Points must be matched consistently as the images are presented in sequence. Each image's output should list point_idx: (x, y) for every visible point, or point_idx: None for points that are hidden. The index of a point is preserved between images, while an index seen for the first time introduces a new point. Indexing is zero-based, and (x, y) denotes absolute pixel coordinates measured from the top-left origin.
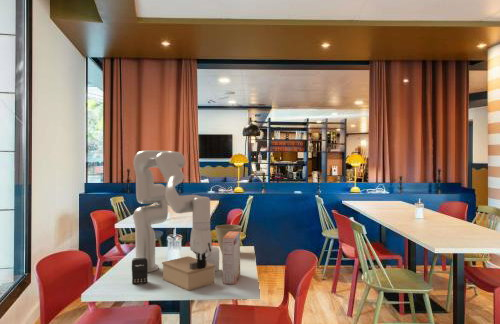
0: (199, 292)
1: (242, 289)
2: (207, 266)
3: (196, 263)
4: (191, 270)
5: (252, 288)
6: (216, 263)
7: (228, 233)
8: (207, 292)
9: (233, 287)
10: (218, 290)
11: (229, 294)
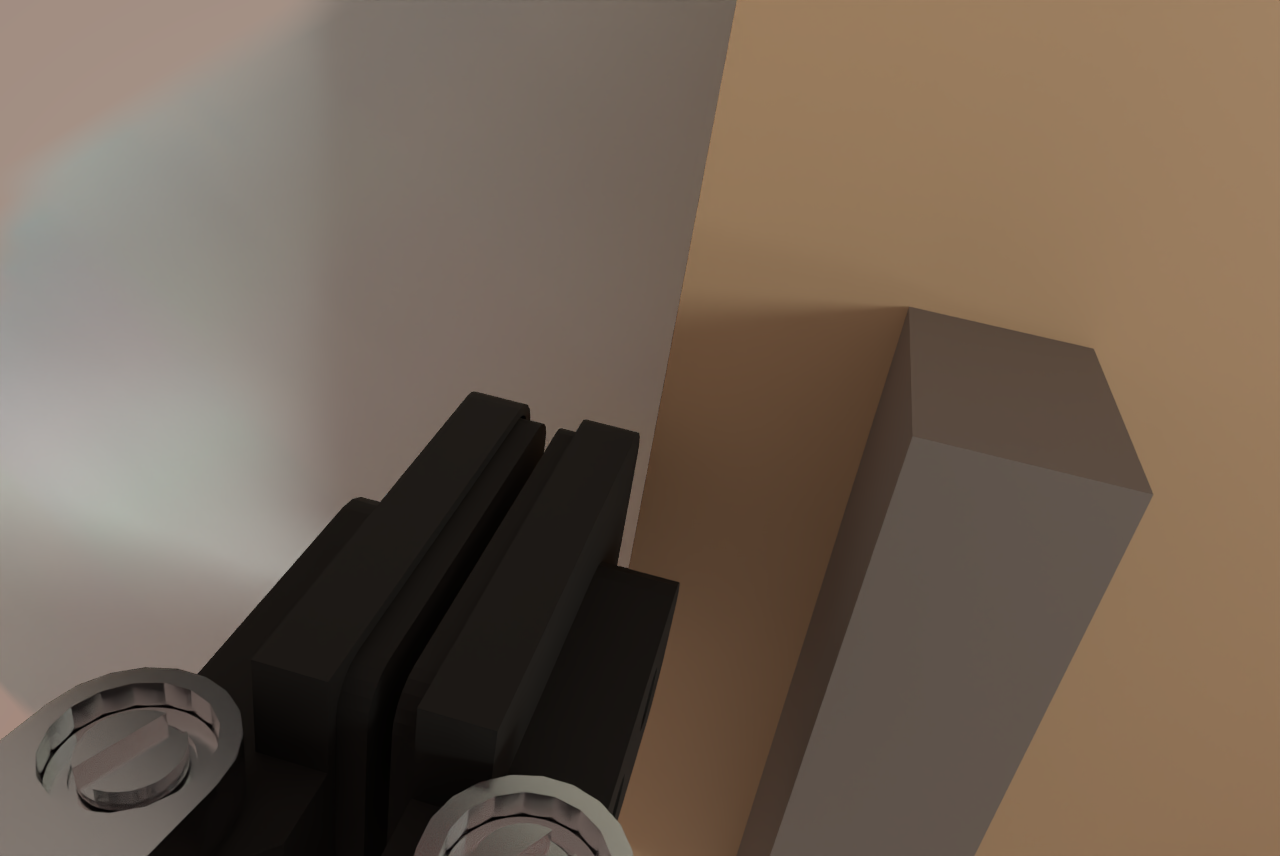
0: (525, 2)
1: (77, 581)
2: (639, 828)
3: (821, 673)
4: (810, 181)
5: (23, 673)
6: None
7: None
8: (384, 121)
9: (243, 591)
10: (311, 346)
11: (13, 287)
